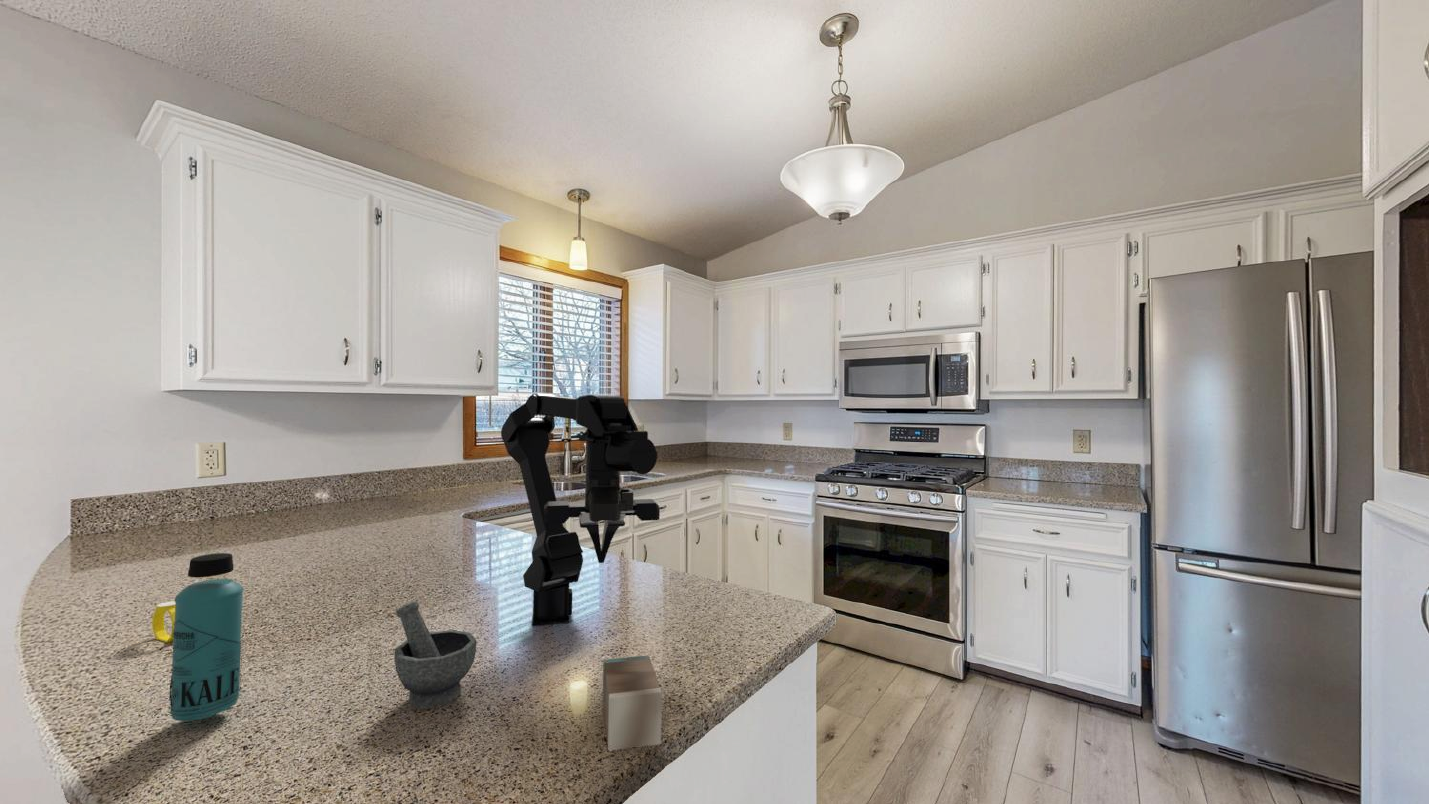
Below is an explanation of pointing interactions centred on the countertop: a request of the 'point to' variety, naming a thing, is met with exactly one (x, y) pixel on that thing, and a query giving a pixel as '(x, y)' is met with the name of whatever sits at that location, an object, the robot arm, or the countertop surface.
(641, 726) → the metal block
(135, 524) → the countertop surface
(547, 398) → the robot arm
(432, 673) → the mortar and pestle
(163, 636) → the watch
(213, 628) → the beverage bottle
